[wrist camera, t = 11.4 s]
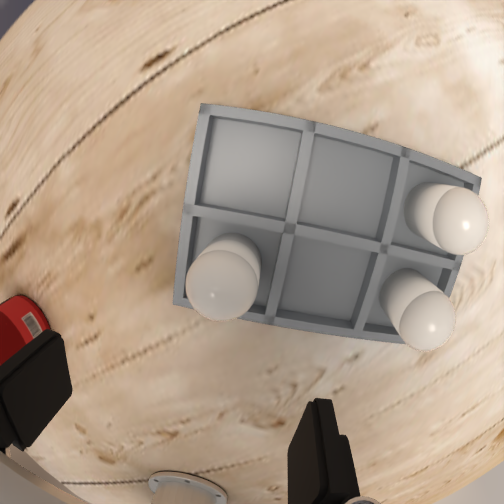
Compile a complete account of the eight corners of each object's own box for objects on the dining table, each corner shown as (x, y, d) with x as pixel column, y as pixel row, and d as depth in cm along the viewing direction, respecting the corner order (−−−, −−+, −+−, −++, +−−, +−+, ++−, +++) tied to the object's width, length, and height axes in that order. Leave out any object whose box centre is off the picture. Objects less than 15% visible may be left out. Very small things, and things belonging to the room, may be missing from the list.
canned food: (10, 282, 27) (-52, 318, 17) (55, 314, 28) (-7, 365, 17) (11, 328, 30) (-40, 368, 19) (52, 360, 30) (3, 411, 19)
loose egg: (255, 293, 24) (247, 341, 17) (200, 282, 25) (173, 325, 18) (266, 238, 23) (262, 270, 16) (208, 227, 23) (179, 253, 16)
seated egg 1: (441, 242, 22) (490, 269, 15) (397, 230, 22) (441, 256, 15) (453, 190, 21) (507, 202, 14) (410, 175, 21) (459, 180, 14)
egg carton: (420, 335, 25) (428, 346, 23) (179, 294, 26) (172, 304, 24) (469, 176, 21) (481, 177, 19) (207, 108, 21) (200, 103, 19)
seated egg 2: (415, 319, 24) (450, 364, 17) (372, 313, 24) (400, 362, 17) (432, 272, 23) (475, 308, 16) (388, 263, 23) (426, 300, 16)
